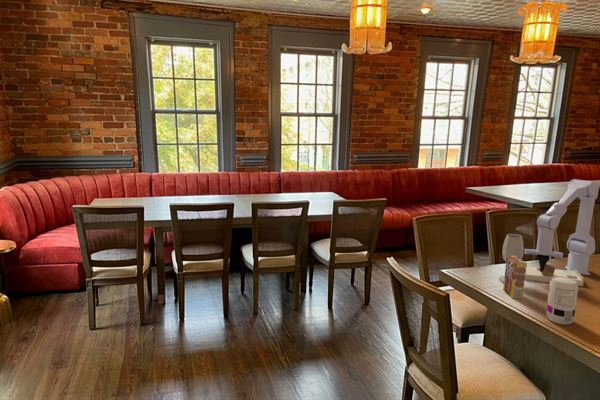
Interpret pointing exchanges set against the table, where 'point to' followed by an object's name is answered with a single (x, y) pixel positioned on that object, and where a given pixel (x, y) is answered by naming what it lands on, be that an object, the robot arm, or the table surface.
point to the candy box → (514, 277)
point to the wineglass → (512, 248)
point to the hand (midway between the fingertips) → (541, 271)
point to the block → (548, 270)
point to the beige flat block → (536, 275)
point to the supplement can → (562, 300)
